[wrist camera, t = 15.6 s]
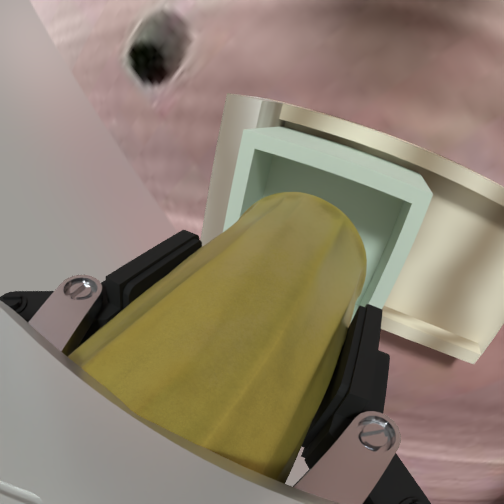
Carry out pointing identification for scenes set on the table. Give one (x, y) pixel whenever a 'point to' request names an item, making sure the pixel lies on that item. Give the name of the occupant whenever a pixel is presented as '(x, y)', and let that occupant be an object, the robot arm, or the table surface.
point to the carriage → (337, 194)
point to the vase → (240, 333)
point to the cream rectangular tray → (426, 242)
